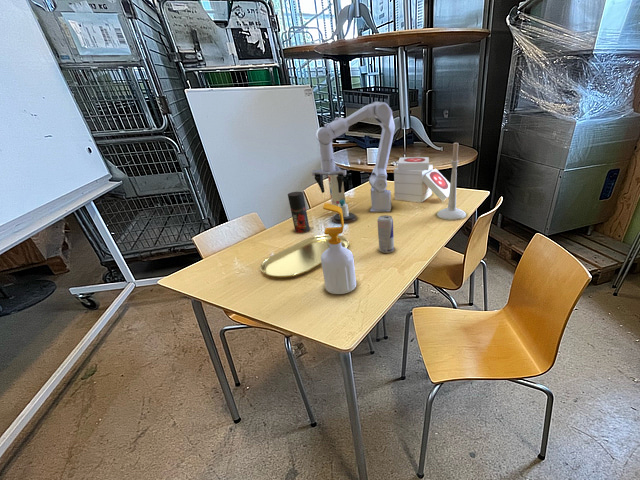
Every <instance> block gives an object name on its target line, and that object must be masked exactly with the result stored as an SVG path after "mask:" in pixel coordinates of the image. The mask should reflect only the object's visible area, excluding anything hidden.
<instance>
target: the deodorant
mask: <svg viewBox="0 0 640 480" xmlns="http://www.w3.org/2000/svg"><path fill="white" fill-rule="evenodd" d="M287 198H288V204H289V208H290V214H291V217H292V218H291V219H292V222H293V228H294V232H295V233H296V234H304V233H305V234H306V233H307V232H310V230H311V227H310V223H309V218H308V211H307V207H306V201H305V195H304V192H302V191H292V192H289V193H288V194H287Z"/></svg>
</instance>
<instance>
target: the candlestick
mask: <svg viewBox="0 0 640 480" xmlns="http://www.w3.org/2000/svg"><path fill="white" fill-rule="evenodd" d="M452 144H453V147H452V160H451V159H450V163H451V167H452V168H451V176H450V193H449V197H448V203H447V207H445V208H442V209H440V210H439V211H437V213H436V216H437V217H438V218H439V219H441V220H446V221H459V220H462V219H465V218H466V217H467V213H466V212H465V211H464V210H463V209H461V208H457V175H458V173H457V171H458V170H457V168H458V166H459V162H460V160H458V156H459V142H453V143H452Z"/></svg>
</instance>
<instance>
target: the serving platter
mask: <svg viewBox="0 0 640 480" xmlns="http://www.w3.org/2000/svg"><path fill="white" fill-rule="evenodd" d="M337 238H340V239H341V245H342V247H345V248H347V249H348V248H349V246H350V241H349V239H348V238H347V237H346V236H343V235H340V234H339V235H338V236H337ZM329 239H331V236H329V234H327V235H326V234H319V235H313V236H311V237H308V238H305V239H303V240H301V241H299V242H297V243H295V244H292V245H291V246H289V247H287V248H284V249H283V250H281V251H278V252H276V253H274V254H273V255H269V257H266V258H265V259H264V260H263V261H262V262H261V263H260V265H259V268H260V271H261V272H262V273H263V274H264V275H266V276H268V277H270V278H275V279H276V278H277V279H288V278H294V277H298V276H302V275H305V274H307V273H309V272H311V271H312V270H314V269H316V268H318V267H319V266H322V263H321V255H322V254H323V252H324V251H325V250H327V249H328V248H330V246H329Z"/></svg>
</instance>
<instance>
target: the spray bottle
mask: <svg viewBox="0 0 640 480" xmlns="http://www.w3.org/2000/svg"><path fill="white" fill-rule="evenodd" d="M339 202H340V203H339V205H338V206H339V207H341V209H342V211H343V220H350V219H353V218H354V214H355V213H353V212H350V211H349V204H348V203H346V198H345V199H341V200H340V201H339ZM333 216H334V219H336V220H340V221H341V219H340V215H339V214H338V213H336V214H334V215H333Z"/></svg>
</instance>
